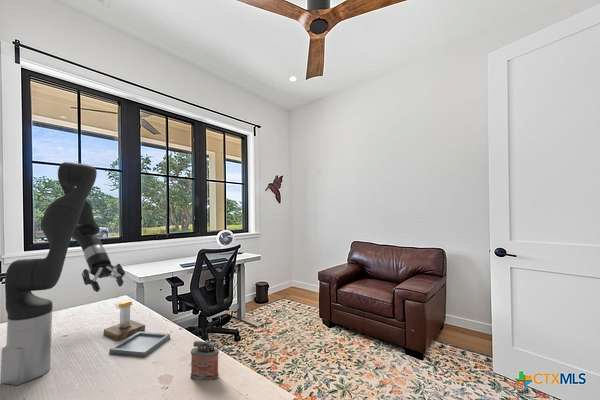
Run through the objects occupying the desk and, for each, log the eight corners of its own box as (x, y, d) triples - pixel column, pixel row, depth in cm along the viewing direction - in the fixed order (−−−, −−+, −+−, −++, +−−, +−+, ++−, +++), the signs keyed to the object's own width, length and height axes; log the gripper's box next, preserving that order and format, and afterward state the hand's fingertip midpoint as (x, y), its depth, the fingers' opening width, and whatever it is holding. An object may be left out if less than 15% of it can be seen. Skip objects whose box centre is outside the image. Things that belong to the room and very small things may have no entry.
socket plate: (117, 340, 97) (117, 335, 97) (103, 334, 102) (103, 329, 102) (144, 330, 106) (145, 324, 106) (130, 324, 111) (130, 319, 111)
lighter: (220, 374, 77) (220, 339, 78) (215, 381, 74) (216, 344, 74) (194, 372, 78) (194, 337, 79) (188, 379, 75) (188, 343, 75)
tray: (144, 357, 86) (144, 352, 86) (109, 353, 88) (109, 349, 88) (170, 338, 99) (170, 333, 99) (138, 335, 101) (139, 331, 101)
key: (120, 335, 101) (121, 304, 102) (117, 333, 103) (118, 303, 103) (131, 330, 105) (132, 301, 105) (128, 329, 106) (129, 300, 107)
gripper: (80, 254, 108) (93, 286, 102) (118, 249, 121) (131, 278, 115) (73, 266, 111) (86, 298, 105) (111, 260, 123) (124, 289, 117)
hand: (110, 287), depth 110 cm, fingers open, 8 cm apart
